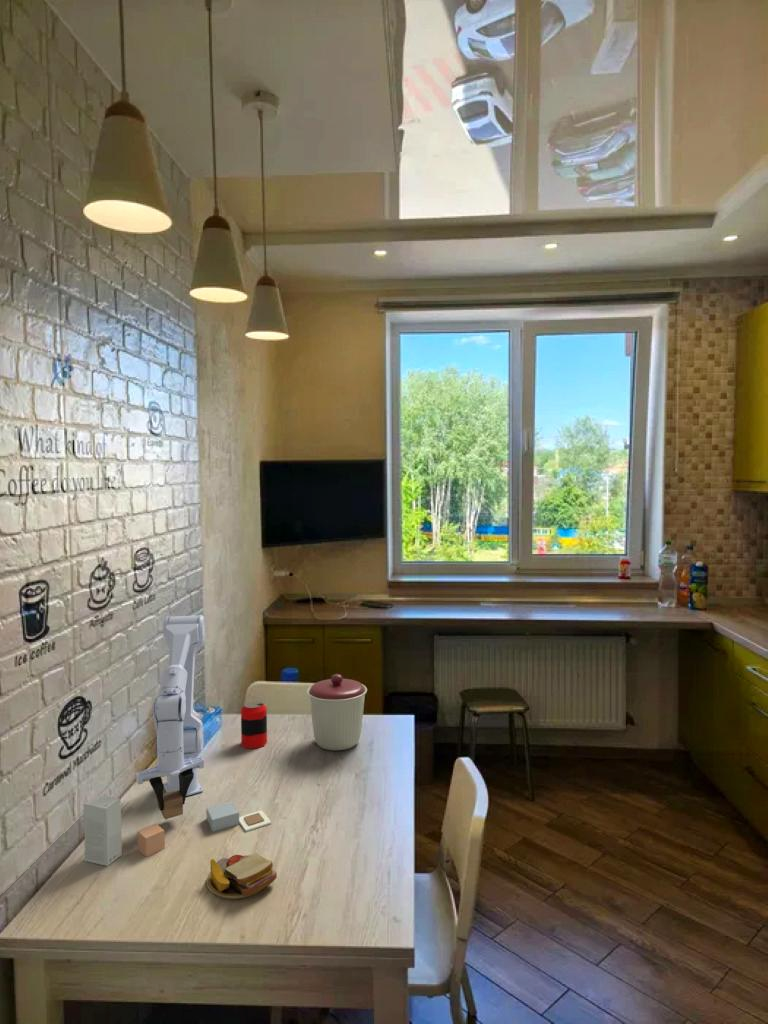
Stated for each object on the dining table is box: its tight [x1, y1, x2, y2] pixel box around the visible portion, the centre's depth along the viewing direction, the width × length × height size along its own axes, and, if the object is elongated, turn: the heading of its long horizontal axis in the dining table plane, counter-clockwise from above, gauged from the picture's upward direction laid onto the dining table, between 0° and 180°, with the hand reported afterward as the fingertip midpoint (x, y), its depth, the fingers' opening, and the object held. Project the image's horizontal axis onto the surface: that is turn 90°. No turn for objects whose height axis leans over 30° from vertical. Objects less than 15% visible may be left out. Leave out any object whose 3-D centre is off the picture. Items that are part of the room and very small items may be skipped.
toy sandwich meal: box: [206, 853, 278, 900], centre depth 114 cm, size 12×14×5 cm
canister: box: [306, 673, 368, 752], centre depth 177 cm, size 18×18×21 cm
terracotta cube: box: [136, 822, 166, 858], centre depth 125 cm, size 4×4×4 cm
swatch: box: [239, 809, 272, 832], centre depth 135 cm, size 6×6×1 cm
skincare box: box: [83, 794, 123, 867], centre depth 122 cm, size 6×4×12 cm
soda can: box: [240, 700, 268, 750], centre depth 178 cm, size 8×8×12 cm
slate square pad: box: [205, 800, 240, 833], centre depth 135 cm, size 6×6×3 cm
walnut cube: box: [160, 790, 184, 820], centre depth 135 cm, size 4×4×4 cm
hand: (171, 805), depth 135 cm, fingers closed on walnut cube, 4 cm apart
